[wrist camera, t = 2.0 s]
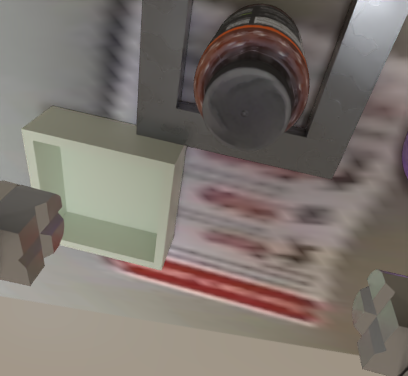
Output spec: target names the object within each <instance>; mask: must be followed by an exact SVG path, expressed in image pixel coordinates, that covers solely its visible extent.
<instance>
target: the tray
mask: <svg viewBox="0 0 408 376" xmlns="http://www.w3.org/2000/svg"><path fill="white" fill-rule="evenodd" d="M21 130H22V136H23V141H24V147H25V153H26V159H27V165H28V170H29V176H30V182H31V187H32V188H36V189H39V190H43V191H47V192H51V193H55V194H58V195H59V196H61V202H62V208H61V209H60V210H59V211H58V213H59V214H60V215H61V217H62V218H63V219H64V234H63V237H62V239H61V242H60V245H62V246H66V247H70V248H74V249H78V250H82V251H86V252H90V253H94V254H98V255H102V256H106V257H110V258H114V259H118V260H122V261H126V262H130V263H134V264H138V265H142V266H146V267H150V268H154V269H158V270H162V268H163V265H164V262H165V260H166V257H167V254H168V251H169V249H170V246H171V243H172V240H173V237H174V230H175V224H176V217H177V210H178V203H179V196H180V189H181V182H182V175H183V168H184V161H185V155H186V148H187V146H184V145H180V144H176V143H171V142H167V141H163V140H158V139H154V138H150V137H145V136H141V135H137V134H136V130H137V125H134V124H129V123H125V122H120V121H116V120H112V119H107V118H103V117H99V116H94V115H90V114H86V113H81V112H77V111H72V110H68V109H64V108H59V107H55V106H52V107H50V108H49V109H48V110H46V111H45V112H43V113H42V114H41V115H39V116H38V117H37V118H35V119H34V120H33V121H31V122H30V123H29V124H27V125H26V126H24V127H23V128H22V129H21Z"/></svg>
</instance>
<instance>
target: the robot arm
mask: <svg viewBox="0 0 408 376" xmlns="http://www.w3.org/2000/svg"><path fill="white" fill-rule="evenodd" d="M61 208H62V202H61V196H59V195H58V194H55V193H51V192H47V191H43V190H39V189H36V188H32V187H28V186H24V185H18V184H15V183H11V182H7V181H0V280H5V281H9V282H14V283H18V284H23V285H28V286H31V284H32V283H33V281H34V280H35V279H36V277H37V276H38V274H39V273H40V272H41V270H42V269H43V268H44V266H45V265H44V258H45V257H47V256H49V255H51V254H53V253H54V252H55V251H56V249H57V248H58V246H59V245H60V242H61V239H62V237H63V234H64V219H63V218H62V217H61V215H60V214H59V213H58V211H59V210H60V209H61ZM367 280H368V284H369V286H368V287H366V288H363V289H361V290H360V291H359V292H358V294H357V296H356V297H355V299H354V304H353V308H352V318H353V324H354V327H355V328H356V329H357V331H358V332H359V333H360V334H361V338H360V339H359V341H358V342H357V345H358V350H359V355H360V359H361V365H362V369H365V370H369V371H372V372H375V373H379V374H383V375H386V376H408V276H405V275H401V274H396V273H392V272H387V271H383V270H378V269H376V270H374V271H373V272H372V273H371V274H370V276H369V277H368V278H367Z"/></svg>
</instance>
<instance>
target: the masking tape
mask: <svg viewBox="0 0 408 376" xmlns="http://www.w3.org/2000/svg"><path fill="white" fill-rule="evenodd" d="M402 162H403V168H404V172H405V175H406V177H407V179H408V133H407V135H406V138H405V141H404V145H403V151H402Z"/></svg>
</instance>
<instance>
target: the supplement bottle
mask: <svg viewBox="0 0 408 376" xmlns="http://www.w3.org/2000/svg"><path fill="white" fill-rule="evenodd" d="M308 94H309V73H308V68H307V63H306V59H305V54H304V50H303V46H302V41H301V37H300V34H299V31H298V29H297V27H296V25H295V23H294V22H293V20H292V19H291V18H290V17H289V16H288V15H287V14H286V13H284V12H283V11H282V10H280V9H278V8H276V7H273V6H270V5H264V4H257V5H250V6H247V7H244V8H242V9H240V10H238V11H237V12H235V13H233V14H232V15H231V16H230V17H229V18H228V19H227V20H226V21H225V22H224V23H223V24H222V26H221V27H220V29H219V30H218V32H217V33H216V35H215V36H214V38H213V39H212V41H211V42H210V44H209V45H208V47H207V49H206V50H205V51H204V53H203V55H202V57H201V59H200V61H199V64H198V66H197V69H196V72H195V77H194V97H195V101H196V104H197V107H198V110H199V112H200V114H201V116H202V117H203V119H204V122H205V125H206V127H207V129H208V130H209V132H210V133H211V135H212V136H213V137H214V138H215V139H216V140H217V141H219V142H220V143H221V144H223V145H224V146H226V147H229V148H231V149H234V150H239V151H256V150H259V149H263V148H265V147H267V146H269V145H271V144H273V143H274V142H275V141H276V140H278V139H279V138H280V136H281V135H282V134H283V133H284V132H285V131H287V130H288V129H289V128H290V127H292V126H293V125H294V124H295V122H296V121H297V120H298V119H299V117H300V116H301V114H302V112H303V111H304V108H305V106H306V103H307V99H308Z"/></svg>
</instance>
